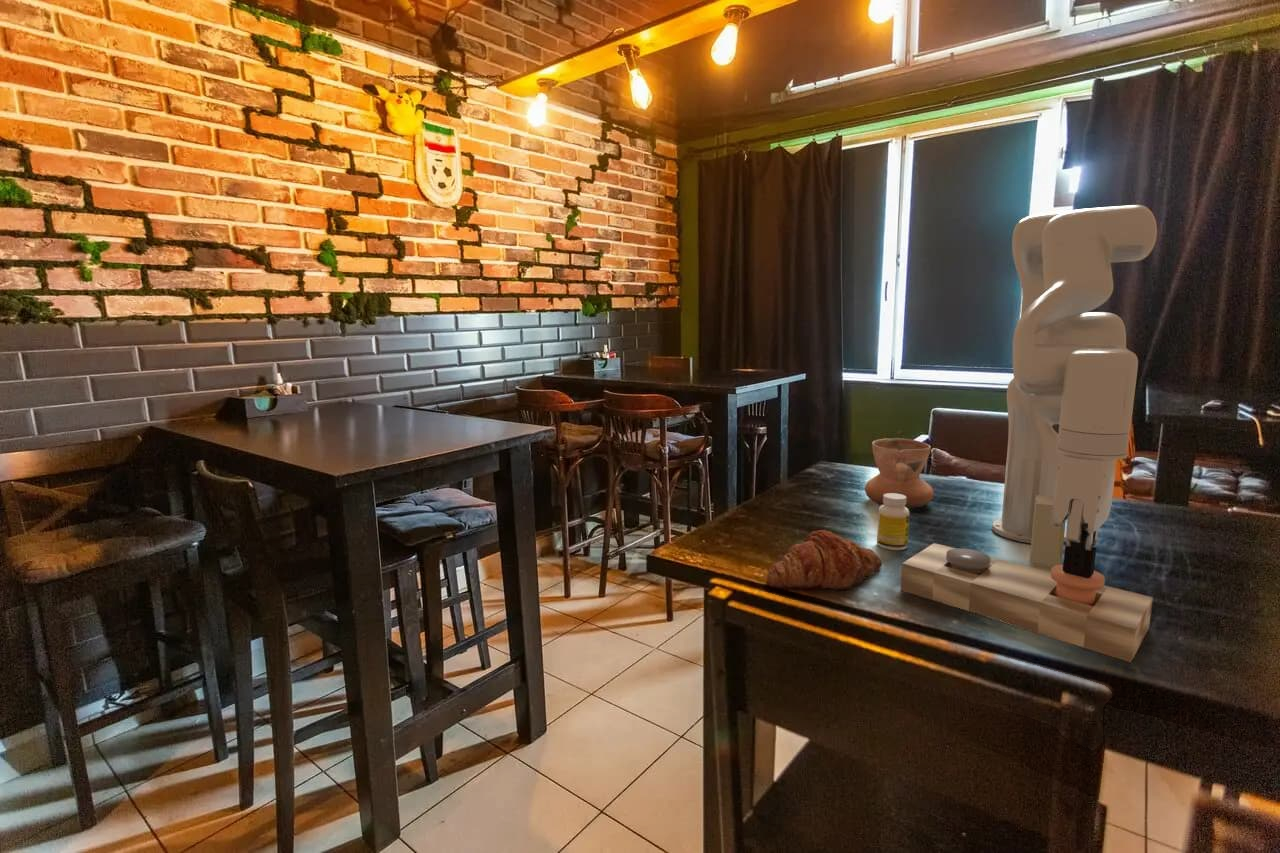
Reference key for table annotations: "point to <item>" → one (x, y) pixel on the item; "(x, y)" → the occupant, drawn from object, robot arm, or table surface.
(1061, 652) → the table surface
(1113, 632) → the button console
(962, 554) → the grey knob
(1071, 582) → the terracotta button
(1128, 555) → the table surface
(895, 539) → the supplement bottle
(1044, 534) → the skincare box
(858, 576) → the pastry
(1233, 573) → the table surface
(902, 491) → the ceramic jug
